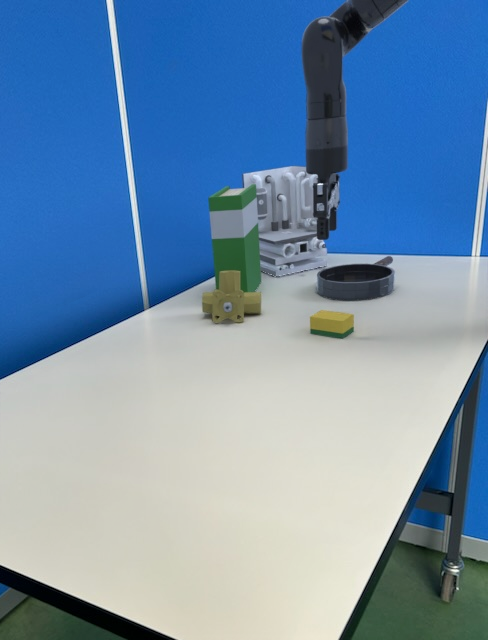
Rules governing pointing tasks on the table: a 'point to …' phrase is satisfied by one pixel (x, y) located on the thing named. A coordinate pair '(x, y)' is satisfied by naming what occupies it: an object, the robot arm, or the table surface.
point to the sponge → (332, 324)
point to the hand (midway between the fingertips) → (327, 234)
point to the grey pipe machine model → (286, 220)
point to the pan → (355, 282)
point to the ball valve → (230, 299)
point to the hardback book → (236, 235)
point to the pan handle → (385, 261)
